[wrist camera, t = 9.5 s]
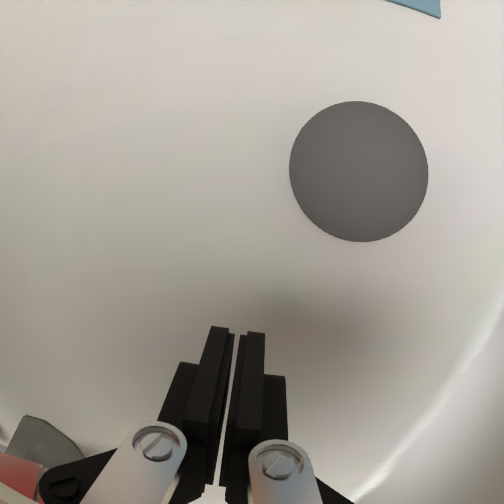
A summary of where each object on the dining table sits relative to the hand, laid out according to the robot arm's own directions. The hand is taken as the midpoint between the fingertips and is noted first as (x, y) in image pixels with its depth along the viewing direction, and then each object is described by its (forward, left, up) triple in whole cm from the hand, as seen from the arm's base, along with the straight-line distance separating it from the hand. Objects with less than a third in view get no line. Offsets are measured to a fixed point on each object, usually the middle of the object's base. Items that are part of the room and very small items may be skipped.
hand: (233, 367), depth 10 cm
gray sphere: (+4, +6, -4) cm, 8 cm away
